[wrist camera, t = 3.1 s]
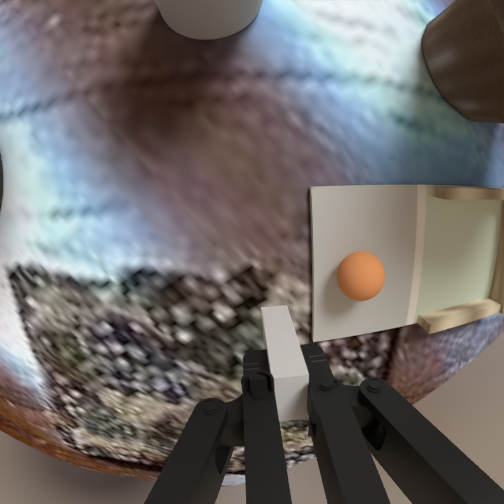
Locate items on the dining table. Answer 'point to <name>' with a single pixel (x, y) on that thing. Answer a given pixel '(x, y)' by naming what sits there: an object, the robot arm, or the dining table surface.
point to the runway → (399, 254)
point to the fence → (500, 294)
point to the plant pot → (469, 57)
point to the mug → (208, 16)
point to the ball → (361, 276)
